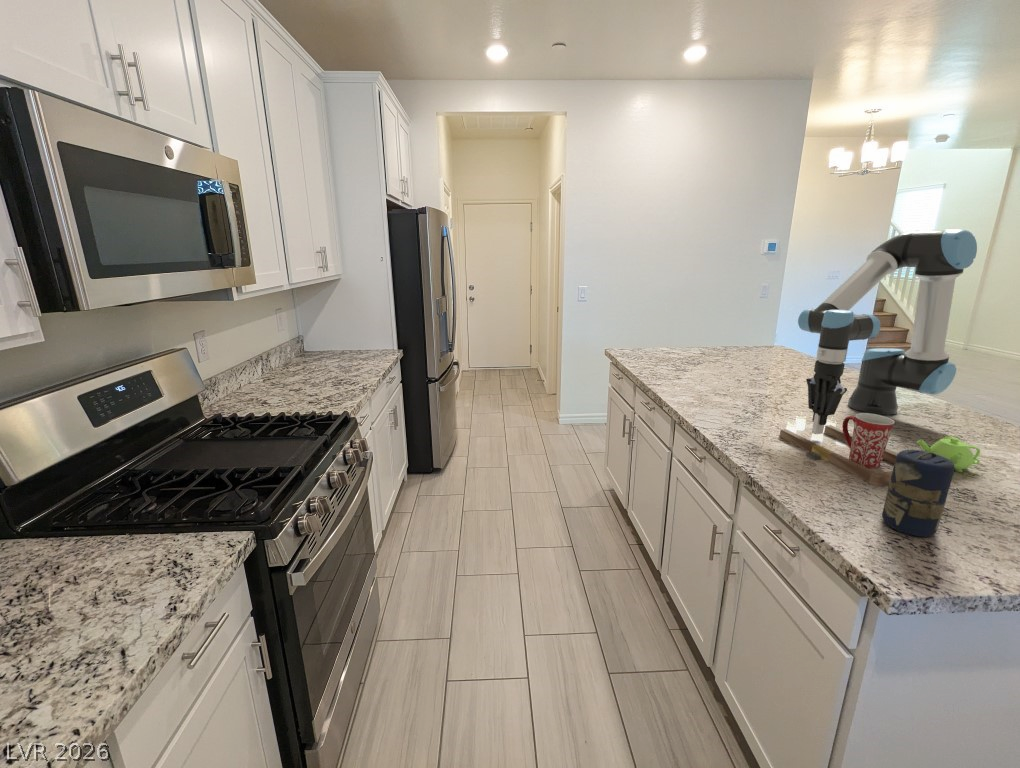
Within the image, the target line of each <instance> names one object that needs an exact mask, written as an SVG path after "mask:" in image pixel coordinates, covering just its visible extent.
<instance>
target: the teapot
mask: <svg viewBox="0 0 1020 768" xmlns="http://www.w3.org/2000/svg"><path fill="white" fill-rule="evenodd" d="M916 443H917V445H919V446H920V448H922V450H923V451H926V452H932V453H935V454H938V455H940V456H943V457H945V458H947V459H949V460H950V461H951V462H952V463H953V464H954V466H955V470H954V472H958V473H964V471H963V470H964V469H968V468H970V467H971V466H973V465H979V464H980V462H981V461H980V459H979V458H978V457H979V456H980V454H981V450H980V448H979V447H978V446H976V445H968V444H967V443H966V442H965V441H964V442H963V441H961V440H960V438H957V437H953V436H947V435H946V436H944V438H940V439H939V440H937V441H935V442H934V443H933V444H931V446H929V445H928V444H927V443H926V441H924V440H923V439H918V440H917V441H916ZM971 449H975V450H976V453H975V454H974V455H973V452H972V450H971Z"/></svg>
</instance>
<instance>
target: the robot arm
mask: <svg viewBox="0 0 1020 768" xmlns="http://www.w3.org/2000/svg"><path fill="white" fill-rule="evenodd" d="M977 251H978V243H977V239H976V236H975V235H974V234H973V233H972V232H971V231H969V230H966V229H954V228H949V229H945V228H944V229H932V230H930V229H929V230H928V229H927V230H910V231H905V232H903V233H899V234H897V235H895V236H893V237H892V238H889V239H888V240H886V241H885V242H883V243H881V244H880V245H879V246H877V247H876V248H875V249H873V250H872V251H871V252H870V253H869V254H868V255H867V256H866V261H865V262H864V263H863V264H862V265H861V266H860V267H859V268H858V269H857V270H855V271H854V273H852V274H851V275H850V276H849V277H848V278H847V279H846V280H845V281H844V282H843V283H842V284H840V285H839V286H838V288H836V289H835V290H834V291H833V292H832V293H831V294H830V295H829V296H828V297H827V298H825V300H824V301H822V302H821V303H820V304H819V305H818V306H817V307H816V308H815V309H814V308H807V309H804V310H803V311H801V313H800V314H799V316H798V319H797V325H798V327H799V329H800V330H802V331H804V332H809V333H811V334H812V333H813V334H819V340H818V344H817V345H818V346H817V352H816V361H815V363H814V368H813V372H814V374H813V377H810V378H806V380H805V381H806V385H807V392H808V393H807V398H808V401H807V403H808V409H809V410H812V412H813V414H812V419H811V420H812V422H813V423H812V429H811V434H813V435H822V434H823V433H824V430H825V426H826V425H827V421H828V417H829V416H833V415H835V413H836V411H837V409H838V408H839V405H840V402H841V401H842V398H843V396H844V394H846V392H847V391H848V389H847V388H848V387H847V388H846V387H843V386H842V384H841V383H842V381H841V377H842V375H843V374H844V370H845V363H844V362H846V361H847V360H846V359H847V353H848V347H849V344H850V341H859V340H860V341H861V340H862V341H864V340H867V339H872V338H874V337H876V336H877V335H878V334H879V333H880V331H881V327H882V326H881V325H882V324H881V321H880V319H879V318H878V317H877V316H876V315H873V314H866V313H864V314H863V313H862V314H855V313H854V312H853V311H851V309H852V308H853V307H854V306H855V305H856V304H857V303H859V302H860V300H862V299H863V298H864V297H865V296H866V295H867V294H868V293H869V292H870V291H871V290H872V289H874V287H875V286H876V285H878V283H879V282H881V280H882V279H884V278H885V277H886V276H887V275H891V274H893V273H895V272H896V271H897V270H898V269H901V268H907V267H908V268H915V270H914V276H916V277H917V278H918V279H919V284H918V293H917V300H916V307H915V313H914V323H913V327H912V328H913V329H912V336H911V342H910V349H907V350H906V351H905V349H902V348H891V347H890V348H889V347H886V348H885V347H884V348H882V347H881V348H880V347H879V348H878V347H877V348H869V349H866V350H865V351H864V353H863V355H862V359H861V364H860V368H859V370H860V371H859V373H858V374H859V375H858V379H857V380H858V381H857V385H856V387H855V388H854V390H853V392H852V394H851V395H850V397H849V398H848V402H847V406H848V407H850V408H851V409H854V410H856V411H859V412H861V413H870V414H877V415H882V416H885V415H888V416H890V415H895V414H897V412H898V409H899V404H898V400H897V394H896V393H897V392H896V390H897V388H901V389H905V390H908V391H912V392H913V391H914V392H917V393H920V394H926V395H933V396H934V395H940V394H941V393H943V392H944V391H945V390H947V389H948V388H949V386H950V385H951V384H952V383H953V381H954V379H955V377H956V374H957V367H956V364H955V363H953V362H950V361H949V358H950V354H949V353H948V352H947V351H945V347H946V340H947V334H948V328H949V323H950V322H949V321H950V316H951V309H952V303H953V296H954V289H955V284H956V279H957V278H958V277H960V276H961V275H962V274H963V273H964V269H967V268H969V267H971V265H972V264H973V263H974V260H975V259H976V256H977Z"/></svg>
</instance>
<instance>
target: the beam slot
mask: <svg viewBox="0 0 1020 768" xmlns="http://www.w3.org/2000/svg"><path fill="white" fill-rule="evenodd" d="M823 433H824V434H827V435H829V436H831V437H833V438H835V439H838V440H840V441H842V442H845V443H846V444H847V441H846V439H845V436H844V433H843V429H841V428H838V427H836V426H834V425H832V424H829V425H828V424H826V425H824V430H823ZM849 435H850V437H851V440H852V436H853V433H850V432H849ZM779 438H781V439H783V440H785V441H787V442H789V443H791V444H793V445H794V446H797V447H798V448H801V449H803V450H804V451H807V452H806V457H808V458H809V459H811V460H814V461H818V460H821V459H822V460H824V461H826V462H827V463H830V464H832V465H834V466H836V467H838V468H840V469H842V470H844V471H845V472H847V473H849V474H851V475H853V476H855V477H857V478H859V479H861V480H863V481H865V482H867V483H869V484H871V485H873V486H875V487H880V486H889V483H890V479H891V476H892V472H893V470H892V471H885V472H884V471H883V472H876V471H874V470H872V469H871V468H870V469H869V467H864V466H862V465H860V464H857V463H855V462H853V461H851V460H849V458H847V457H845V456H843V455H841V454H838V453H836V452H834V451H833V450H830V449H829V448H827V447H824V446H822V445H820V444H818V443H816V442H814V441H811V440H810V439H807V438H806V437H803V436H801V435H799V434H797V433H795V432H792V431H790V430H789V429H786V428H784V429H780V432H779ZM898 453H899V452H895V451H893V450H891V449H889V448H887V447H886V448H885V451H884V455H883V458H882V460H885V461H887V462H889V463H892V464H893V465H894V464H895V460H896V457H897V454H898Z"/></svg>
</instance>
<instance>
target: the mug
mask: <svg viewBox="0 0 1020 768" xmlns="http://www.w3.org/2000/svg"><path fill="white" fill-rule="evenodd" d="M850 420H852V421H853V422H854V425H853V430H852V431H853V432H852V434H853V436H852V440H851V437H850V435H849V433H850V432H849V425H848V424H849V421H850ZM895 423H896V422H895V420H893V418H890V417H888V416H885V415H882V414H873V413H867V412H860V413H855V415H854V416H852V415H850V416H846V417H845V418H844V419H843V421H842V424H841V425H842V430H843V433H844V436H845V439H846V441H847V443H846V444H847V446H848V448H849V449H850V450H849V456H848V459H849V460H851V461H853V462H855V463H857V464H860V465H862V466H864V467H866V468H868V469H869V468H870V469H874V468H875V469H877V468H879V467H880V466H881V464H882V462H883V461H882V460H883V459H882V458H883V455H884V451H885V448H886V449H887V445H888V443H889V438H890V436H891V432H892V429H893V426H894V424H895Z"/></svg>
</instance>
